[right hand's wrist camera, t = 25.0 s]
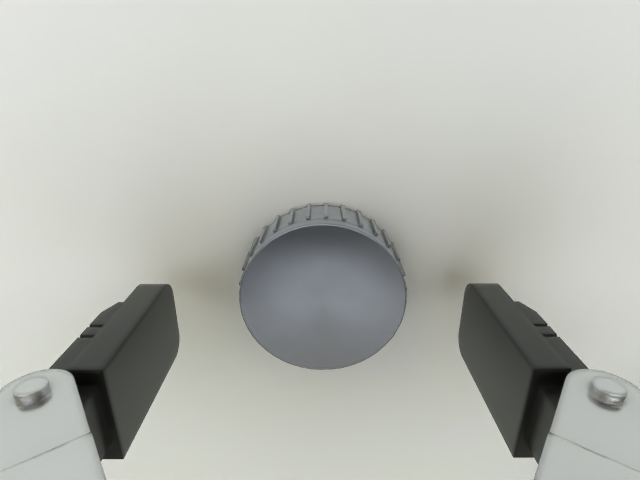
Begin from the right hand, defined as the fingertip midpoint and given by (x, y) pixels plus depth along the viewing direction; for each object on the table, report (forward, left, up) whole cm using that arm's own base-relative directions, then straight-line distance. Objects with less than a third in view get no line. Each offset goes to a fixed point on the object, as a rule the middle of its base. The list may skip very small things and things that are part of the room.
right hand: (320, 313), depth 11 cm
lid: (0, 0, -1) cm, 1 cm away
